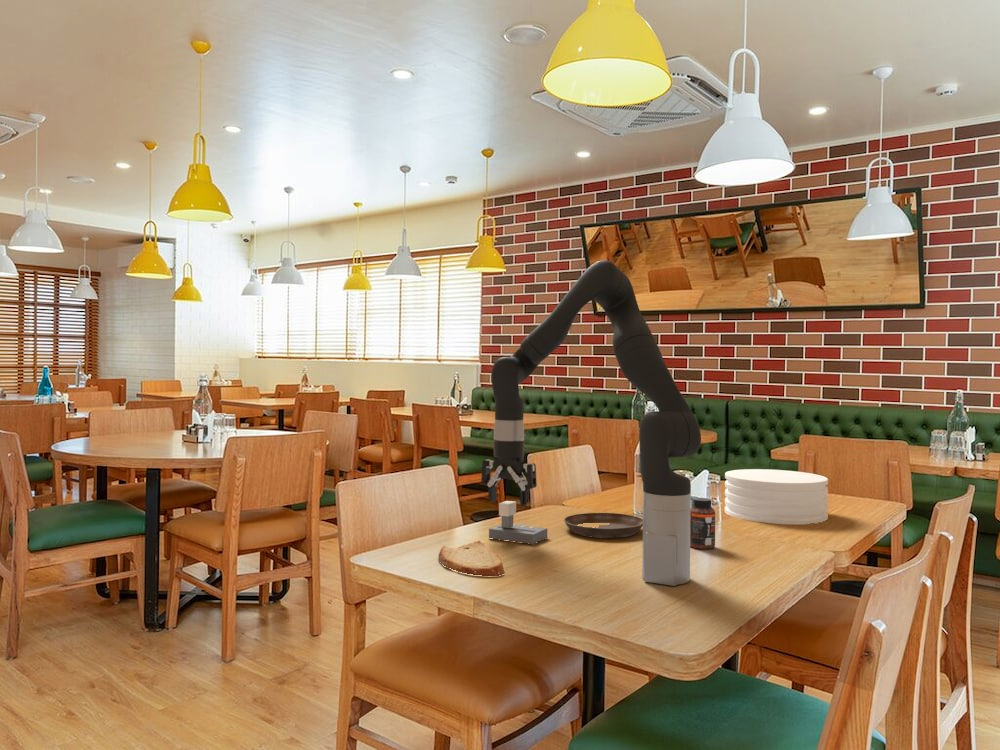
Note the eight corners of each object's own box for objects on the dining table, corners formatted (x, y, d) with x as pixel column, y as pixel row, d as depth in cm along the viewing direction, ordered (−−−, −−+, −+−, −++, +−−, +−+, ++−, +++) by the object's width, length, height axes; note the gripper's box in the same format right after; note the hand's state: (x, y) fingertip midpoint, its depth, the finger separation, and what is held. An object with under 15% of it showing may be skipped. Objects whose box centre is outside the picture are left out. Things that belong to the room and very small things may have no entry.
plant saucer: (547, 529, 185) (547, 517, 185) (603, 520, 197) (603, 508, 197) (604, 545, 168) (604, 531, 168) (661, 534, 181) (661, 521, 181)
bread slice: (498, 581, 139) (499, 562, 139) (416, 571, 145) (416, 553, 145) (526, 558, 156) (526, 541, 156) (452, 551, 162) (452, 535, 162)
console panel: (532, 545, 167) (532, 534, 167) (488, 538, 173) (489, 528, 173) (547, 538, 174) (547, 527, 174) (504, 532, 180) (504, 522, 180)
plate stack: (717, 504, 222) (717, 468, 222) (811, 507, 218) (811, 470, 218) (734, 523, 195) (734, 481, 195) (841, 526, 191) (842, 484, 191)
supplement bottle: (716, 550, 163) (716, 501, 163) (689, 549, 164) (690, 500, 164) (713, 544, 169) (714, 497, 169) (688, 543, 170) (688, 496, 170)
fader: (508, 529, 171) (508, 504, 171) (498, 527, 173) (499, 503, 173) (515, 525, 175) (516, 501, 175) (506, 524, 176) (506, 500, 176)
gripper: (476, 437, 174) (475, 503, 174) (527, 441, 167) (527, 509, 167) (491, 435, 181) (491, 498, 181) (541, 438, 174) (541, 504, 174)
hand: (508, 503), depth 174 cm, fingers open, 8 cm apart
